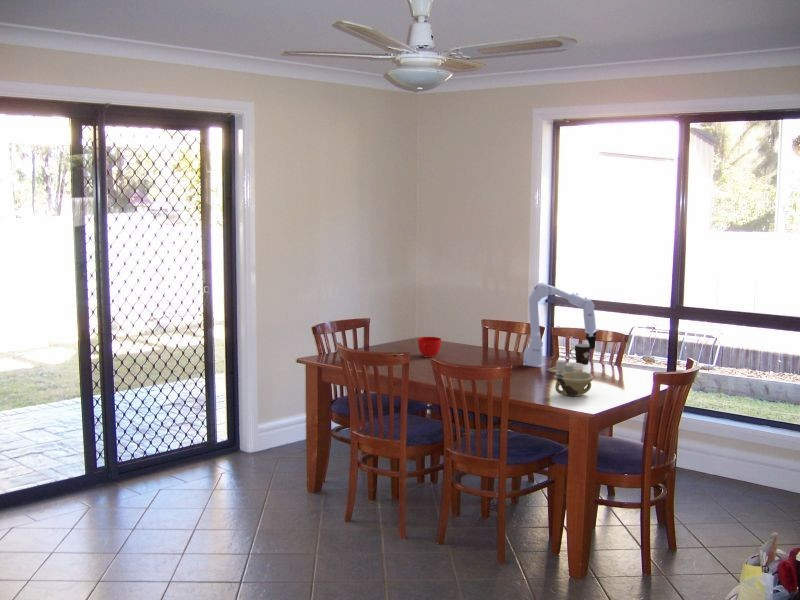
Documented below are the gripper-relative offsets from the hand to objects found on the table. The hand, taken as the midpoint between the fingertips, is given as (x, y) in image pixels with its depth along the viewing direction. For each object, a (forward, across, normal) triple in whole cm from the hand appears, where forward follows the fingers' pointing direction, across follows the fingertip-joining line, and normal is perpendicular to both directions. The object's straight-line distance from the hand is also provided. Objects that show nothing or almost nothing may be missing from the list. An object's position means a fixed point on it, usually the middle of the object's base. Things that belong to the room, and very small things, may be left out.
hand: (592, 347), depth 426 cm
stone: (+8, -21, +12) cm, 26 cm away
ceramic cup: (-2, +2, +90) cm, 90 cm away
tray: (+8, -17, +15) cm, 24 cm away
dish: (+9, -7, +10) cm, 15 cm away
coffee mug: (+10, +6, +8) cm, 14 cm away
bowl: (+8, -62, +10) cm, 64 cm away
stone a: (+7, -14, +17) cm, 23 cm away
